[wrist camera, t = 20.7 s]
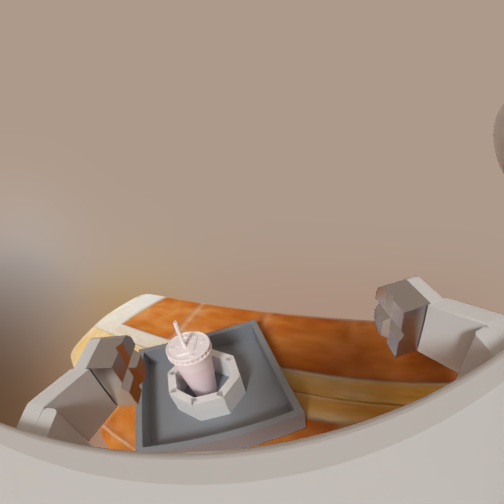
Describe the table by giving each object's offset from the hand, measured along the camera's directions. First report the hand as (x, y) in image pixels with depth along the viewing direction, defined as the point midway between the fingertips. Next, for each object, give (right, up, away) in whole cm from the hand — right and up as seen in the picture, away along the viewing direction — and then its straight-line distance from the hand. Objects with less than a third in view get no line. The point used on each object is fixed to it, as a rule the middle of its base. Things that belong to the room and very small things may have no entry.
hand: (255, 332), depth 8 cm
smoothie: (-7, -19, +31) cm, 37 cm away
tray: (-6, -20, +30) cm, 37 cm away
